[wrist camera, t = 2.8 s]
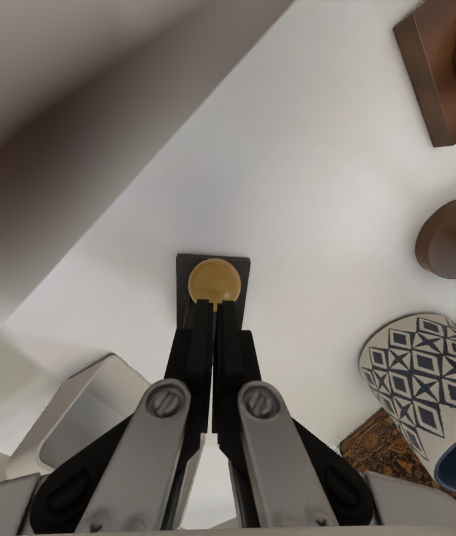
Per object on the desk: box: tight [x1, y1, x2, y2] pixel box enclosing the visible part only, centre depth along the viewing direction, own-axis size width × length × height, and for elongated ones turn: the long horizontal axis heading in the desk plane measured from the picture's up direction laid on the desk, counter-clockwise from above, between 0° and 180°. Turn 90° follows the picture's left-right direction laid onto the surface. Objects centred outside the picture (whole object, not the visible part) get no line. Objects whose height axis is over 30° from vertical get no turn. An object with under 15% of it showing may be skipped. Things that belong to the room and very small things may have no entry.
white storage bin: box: [5, 355, 205, 530], centre depth 34 cm, size 25×16×12 cm, turn 32°
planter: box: [359, 314, 456, 493], centre depth 30 cm, size 16×16×14 cm
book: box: [340, 408, 456, 500], centre depth 33 cm, size 16×6×25 cm, turn 152°
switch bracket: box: [176, 254, 251, 330], centre depth 25 cm, size 11×9×12 cm
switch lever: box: [188, 259, 241, 366], centre depth 17 cm, size 13×3×3 cm, turn 175°
